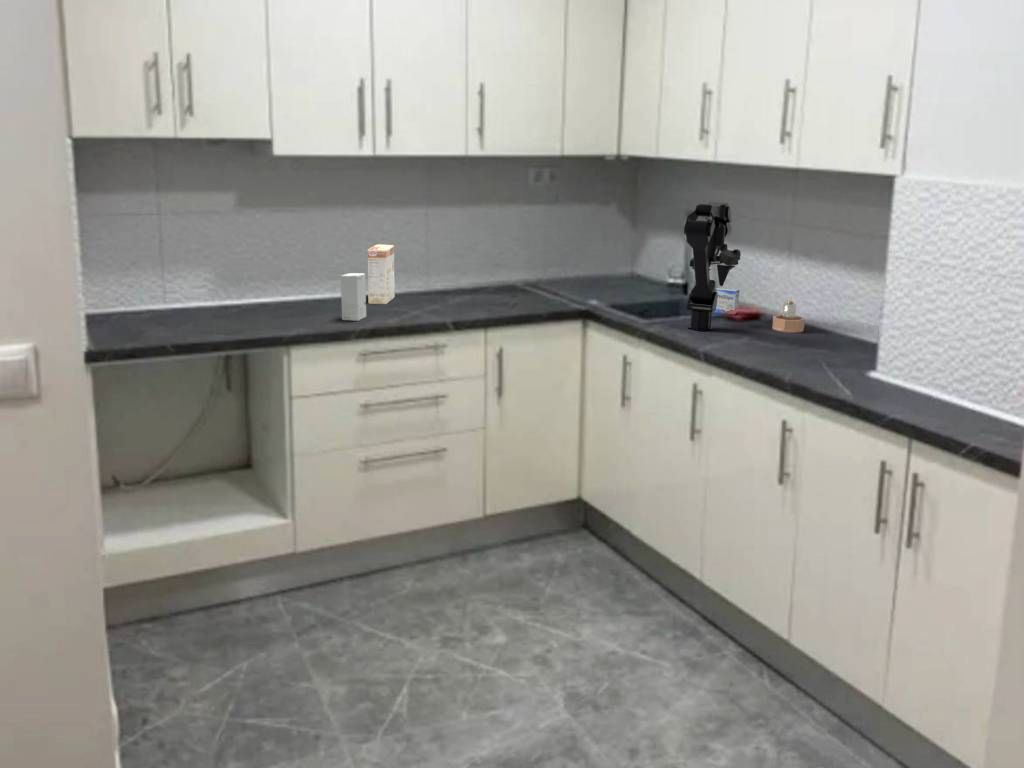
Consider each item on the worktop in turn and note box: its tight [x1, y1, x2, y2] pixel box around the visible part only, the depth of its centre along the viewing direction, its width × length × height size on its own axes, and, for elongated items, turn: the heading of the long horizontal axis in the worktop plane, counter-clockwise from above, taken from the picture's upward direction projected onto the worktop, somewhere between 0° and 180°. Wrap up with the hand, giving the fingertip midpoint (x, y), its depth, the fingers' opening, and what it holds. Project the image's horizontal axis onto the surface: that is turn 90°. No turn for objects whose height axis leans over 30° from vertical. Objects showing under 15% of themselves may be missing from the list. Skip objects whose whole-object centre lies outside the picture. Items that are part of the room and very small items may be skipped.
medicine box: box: [712, 287, 740, 315], centre depth 368 cm, size 8×4×9 cm, turn 62°
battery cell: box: [782, 300, 797, 320], centre depth 341 cm, size 4×4×8 cm
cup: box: [771, 314, 806, 334], centre depth 342 cm, size 10×10×4 cm
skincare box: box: [340, 272, 367, 322], centre depth 342 cm, size 8×6×15 cm
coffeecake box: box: [367, 243, 396, 305], centre depth 376 cm, size 15×7×20 cm, turn 175°
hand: (712, 287), depth 349 cm, fingers open, 9 cm apart
